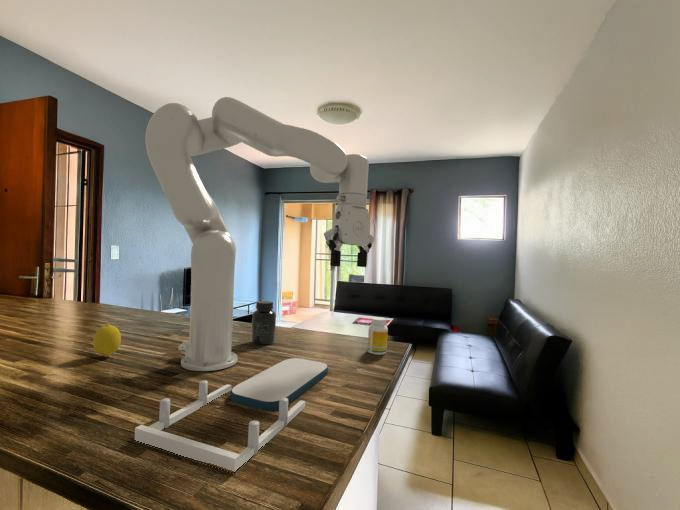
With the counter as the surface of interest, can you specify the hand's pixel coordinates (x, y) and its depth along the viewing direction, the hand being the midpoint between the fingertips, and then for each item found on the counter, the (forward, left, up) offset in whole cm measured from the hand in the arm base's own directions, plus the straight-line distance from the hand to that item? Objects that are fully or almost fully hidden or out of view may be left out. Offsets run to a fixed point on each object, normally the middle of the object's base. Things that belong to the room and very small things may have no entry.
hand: (348, 266), depth 89 cm
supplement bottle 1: (-26, +1, -24) cm, 36 cm away
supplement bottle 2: (+7, +8, -24) cm, 26 cm away
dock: (-5, -41, -24) cm, 48 cm away
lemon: (-51, -28, -24) cm, 63 cm away
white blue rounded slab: (-5, -23, -25) cm, 34 cm away
